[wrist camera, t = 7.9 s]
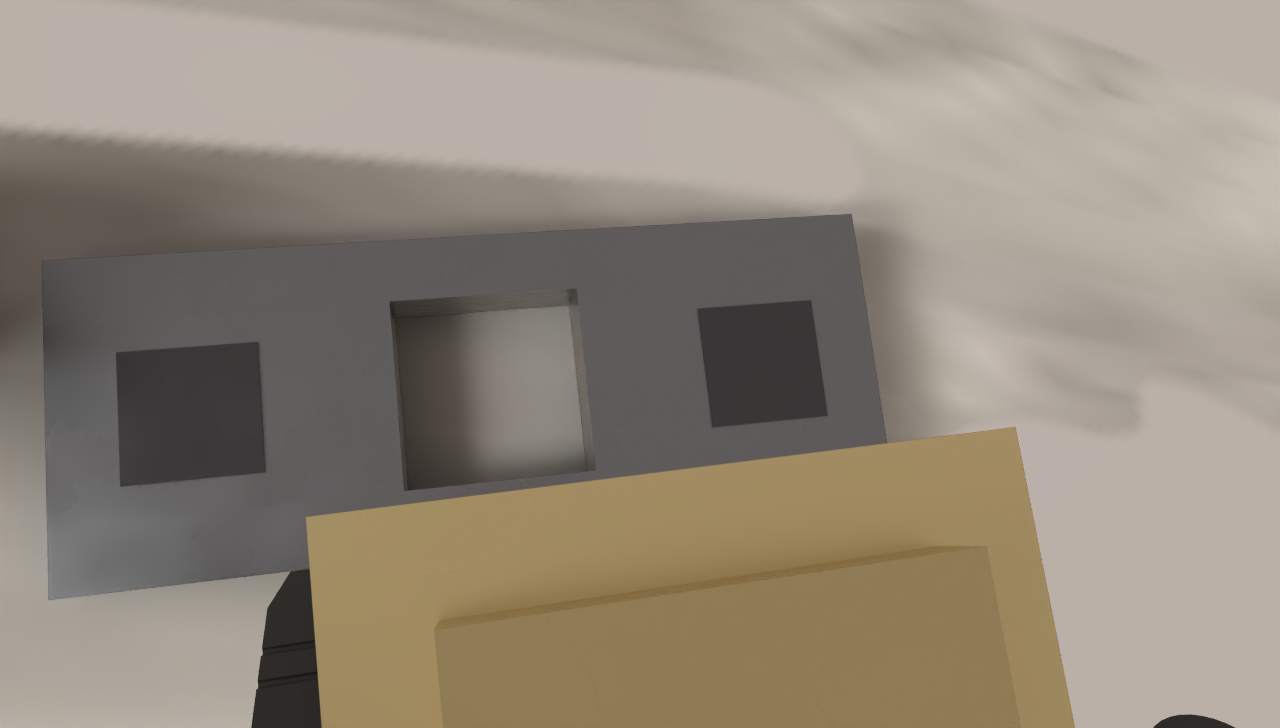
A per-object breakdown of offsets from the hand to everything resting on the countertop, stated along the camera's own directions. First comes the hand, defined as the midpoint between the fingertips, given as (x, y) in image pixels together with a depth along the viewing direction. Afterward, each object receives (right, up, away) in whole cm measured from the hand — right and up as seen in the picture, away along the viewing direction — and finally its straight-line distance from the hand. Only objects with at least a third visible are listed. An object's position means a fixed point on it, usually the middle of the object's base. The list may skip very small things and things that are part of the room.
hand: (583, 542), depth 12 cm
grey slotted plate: (-4, +1, +20) cm, 21 cm away
